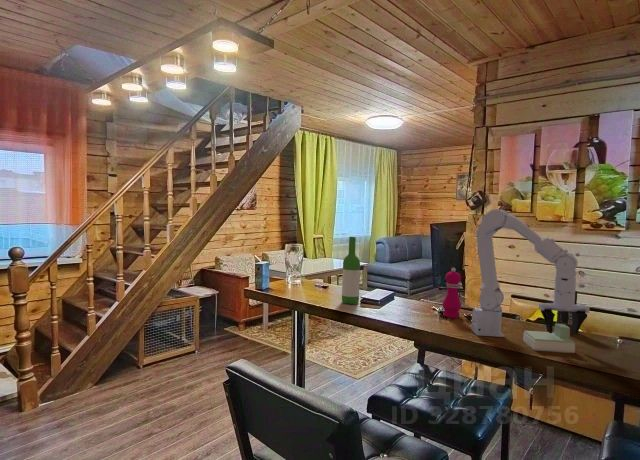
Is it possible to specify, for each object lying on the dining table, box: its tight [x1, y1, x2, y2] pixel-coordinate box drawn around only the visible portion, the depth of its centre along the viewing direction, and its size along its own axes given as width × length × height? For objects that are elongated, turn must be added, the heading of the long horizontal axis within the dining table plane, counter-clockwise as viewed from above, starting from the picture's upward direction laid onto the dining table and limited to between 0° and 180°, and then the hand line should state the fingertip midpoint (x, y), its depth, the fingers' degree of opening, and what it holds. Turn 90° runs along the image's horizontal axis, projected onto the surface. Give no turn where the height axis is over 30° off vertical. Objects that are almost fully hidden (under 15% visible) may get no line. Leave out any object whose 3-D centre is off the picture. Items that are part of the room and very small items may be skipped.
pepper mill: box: [442, 267, 462, 319], centre depth 164 cm, size 7×7×20 cm
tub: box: [522, 332, 576, 354], centre depth 130 cm, size 12×9×3 cm
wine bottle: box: [341, 236, 361, 305], centre depth 182 cm, size 8×8×30 cm
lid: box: [523, 323, 575, 344], centre depth 130 cm, size 12×9×4 cm
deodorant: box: [555, 290, 578, 334], centre depth 149 cm, size 6×6×15 cm
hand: (562, 333), depth 130 cm, fingers open, 7 cm apart
